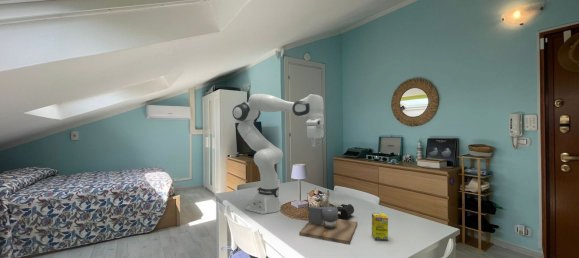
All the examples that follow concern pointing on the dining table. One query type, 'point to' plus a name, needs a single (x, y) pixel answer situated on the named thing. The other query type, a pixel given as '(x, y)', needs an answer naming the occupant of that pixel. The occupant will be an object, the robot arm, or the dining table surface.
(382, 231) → the supplement box
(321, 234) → the mount plate
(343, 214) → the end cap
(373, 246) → the dining table surface
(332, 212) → the coupling
